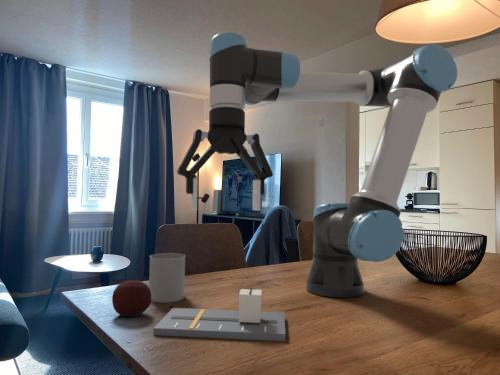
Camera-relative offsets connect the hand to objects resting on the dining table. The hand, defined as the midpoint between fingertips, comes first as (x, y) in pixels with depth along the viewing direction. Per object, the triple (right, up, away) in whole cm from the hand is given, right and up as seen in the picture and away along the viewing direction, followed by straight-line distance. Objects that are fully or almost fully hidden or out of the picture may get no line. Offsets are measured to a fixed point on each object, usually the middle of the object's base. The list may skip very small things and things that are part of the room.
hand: (226, 210), depth 77 cm
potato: (-19, -21, -2) cm, 29 cm away
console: (0, -21, -8) cm, 23 cm away
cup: (-15, -22, +12) cm, 29 cm away
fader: (+5, -20, -8) cm, 22 cm away
